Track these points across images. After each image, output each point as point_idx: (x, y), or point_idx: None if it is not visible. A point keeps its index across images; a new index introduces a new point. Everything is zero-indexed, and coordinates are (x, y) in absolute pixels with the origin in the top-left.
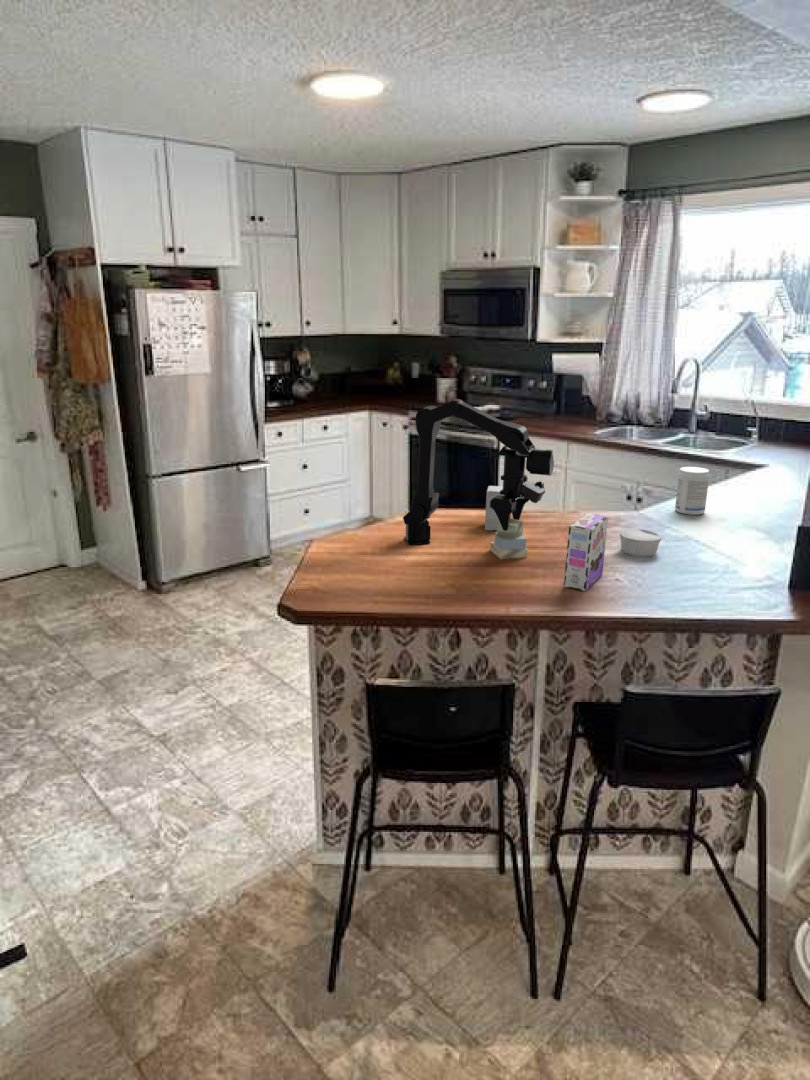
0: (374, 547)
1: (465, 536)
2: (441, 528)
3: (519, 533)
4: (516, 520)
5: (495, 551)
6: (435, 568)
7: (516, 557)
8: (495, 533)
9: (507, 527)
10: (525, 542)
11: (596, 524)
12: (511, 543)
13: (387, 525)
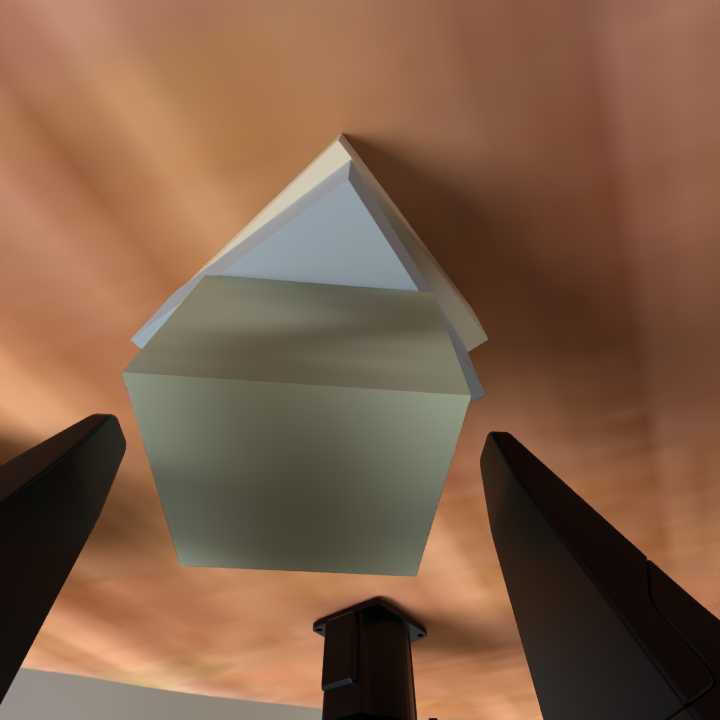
0: (486, 669)
1: None
2: (172, 612)
3: (305, 299)
4: (193, 454)
5: None
6: (688, 513)
7: (401, 214)
8: None
9: (537, 461)
10: (351, 178)
11: None
12: None
13: (265, 693)
